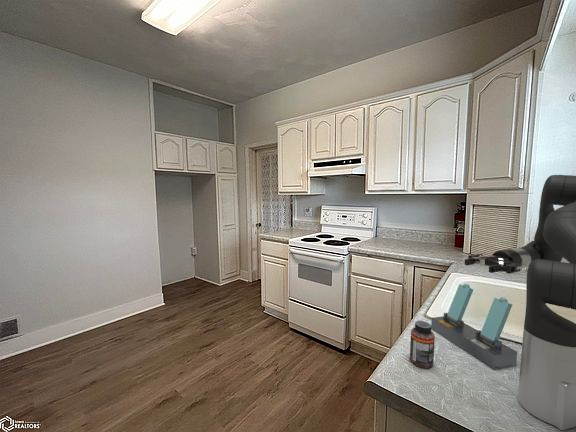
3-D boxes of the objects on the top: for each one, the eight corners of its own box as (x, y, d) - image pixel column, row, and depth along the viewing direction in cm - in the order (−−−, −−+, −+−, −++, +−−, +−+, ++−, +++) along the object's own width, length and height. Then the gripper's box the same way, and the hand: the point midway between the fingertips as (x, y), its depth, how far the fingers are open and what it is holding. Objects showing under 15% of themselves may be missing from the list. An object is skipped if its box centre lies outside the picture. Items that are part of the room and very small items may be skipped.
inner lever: (496, 346, 73) (514, 301, 74) (491, 345, 73) (509, 299, 73) (483, 339, 77) (499, 296, 77) (478, 337, 77) (495, 294, 77)
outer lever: (459, 325, 85) (475, 286, 85) (455, 324, 85) (470, 285, 85) (449, 320, 89) (464, 282, 89) (445, 318, 88) (460, 281, 89)
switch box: (516, 365, 72) (517, 344, 71) (493, 369, 70) (495, 347, 69) (449, 326, 93) (450, 309, 92) (431, 328, 91) (432, 311, 91)
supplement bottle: (412, 353, 77) (414, 316, 76) (435, 361, 73) (437, 323, 72) (407, 363, 72) (409, 324, 71) (430, 372, 68) (433, 331, 68)
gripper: (491, 245, 99) (458, 250, 94) (535, 254, 85) (499, 260, 81) (490, 263, 100) (457, 270, 95) (534, 275, 86) (498, 283, 82)
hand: (477, 265), depth 88 cm, fingers open, 8 cm apart
